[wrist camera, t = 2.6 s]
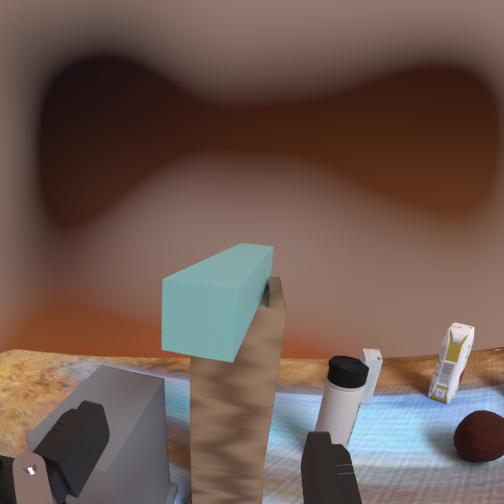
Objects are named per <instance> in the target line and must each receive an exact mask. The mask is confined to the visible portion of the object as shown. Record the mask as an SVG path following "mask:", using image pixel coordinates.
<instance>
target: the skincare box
mask: <svg viewBox="0 0 504 504" xmlns="http://www.w3.org/2000/svg"><path fill="white" fill-rule="evenodd" d="M360 361H362V363H364V364H365V365H367V366H368V367H369V372H368V377H367V380H366V386H365V390H364V393H363V397H362V401H361V404H365V405H369V404H370V401H371V398H372V395H373V392H374V389H375V386H376V383H377V379H378V376H379V373H380V369H381V366H382V362H383V360H382V357H381V354H380V352H379V350H375V349H363V350H362V355H361V358H360Z"/></svg>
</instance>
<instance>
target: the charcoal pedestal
mask: <svg viewBox="0 0 504 504" xmlns="http://www.w3.org/2000/svg"><path fill="white" fill-rule="evenodd" d="M84 400H87V401H91V402H94V403H98V404H101V405H102V406H103V407H104V411H105V415H106V419H107V423H108V427H109V431H110V437H109V442H108V444H107V446H106V448H105V450H104V451H103V453H102V455H101V457H100V458H99V460H98V462H97V464H96V466H95V467H94V469H93V471H92V473H91V475H90V477H89V478H88V480H87V482H86V484H85V486H84V487H83V489H82V491H81V493H80V495H79V497H78V498H75V497H73V496H71V495H67V497H66V500H67V502H68V504H174V501H175V498H176V495H177V492H178V485H175V484H171V481H170V471H169V459H168V447H167V432H166V414H165V389H164V378H160V377H154V376H149V375H144V374H139V373H135V372H130V371H126V370H121V369H117V368H113V367H108V366H104V365H101V366H100V367H99V368H98V369H97V370H96V371H95V372H94V373H93V374H92V375H91V376H90V377H88V378H87V379H86V380H85V381H84V382H83V383H82V384H81V385H80V386H79V387H78V388H77V389H76V390H75V391H74V392H73V393H71V394H70V395H69V396H68V397H67V398H66V399H65V400H64V401H63V402H62V403H61V404H60V405H59V406H58V407H57V408H56V409H55V410H54V411H53V412H51V413H50V414H49V415H48V416H47V417H46V418H45V419H44V420H43V421H42V422H41V423H40V424H39V425H38V426H37V427H36V428H35V429H34V430H33V431H32V432H31V433H30V434H29V435H28V436H26V437H25V440H26V442H27V445H28V448H29V450H30V452H31V453H32V452H33V451H34V450H35V448H36V447H37V446H38V445H39V443H40V442H41V441H42V439H43V438H44V437H45V436H46V434H47V433H48V432H49V430H51V428H52V427H53V425H54V424H56V421H57V420H58V419H59V418H60V416H61V415H62V414H63V413H65V412H67V411H68V410H70V409H72V408H73V409H77V408H78V406H79V405H80V404H81V402H82V401H84Z"/></svg>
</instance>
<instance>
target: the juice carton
mask: <svg viewBox="0 0 504 504" xmlns="http://www.w3.org/2000/svg"><path fill="white" fill-rule="evenodd" d="M473 338H474V327H471V326H468V325H464V324H459V323H455V322H453V324H452V325H451V327H449V328H448V330H447V332H446V334H445V336H444V339H443V343H442V346H441V350H440V354H439V357H438V361H437V364H436V368H435V371H434V374H433V377H432V381H431V384H430V388H429V394H428V397H429V398H431V399H434V400H437V401H440V402H444V403H447V404H448V403H449V402H450V401H451V399H452V398H453V396H454V395H455V393H456V391H457V389H458V387H459V385H460V382H461V379H462V376H463V373H464V370H465V367H466V364H467V361H468V357H469V354H470V351H471V347H472V343H473Z"/></svg>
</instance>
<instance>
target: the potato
mask: <svg viewBox="0 0 504 504" xmlns="http://www.w3.org/2000/svg"><path fill="white" fill-rule="evenodd" d="M454 445H455V448H456V449H457V451H458V453H459V454H460V455H461V456H462V457H464V458H466V459H469V460H471V461H478V462H488V461H493V460H496V459H498V458H500V457H502V456H503V455H504V418H503V417H501V416H499V415H498V414H496V413H493V412H489V411H486V410H482V411H475V412H473V413H471V414H469V415H468V416H466V417H465V418H464V419H463V420H462V421H461V422H460V423H459V425H458V427H457V428H456V430H455V434H454Z"/></svg>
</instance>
